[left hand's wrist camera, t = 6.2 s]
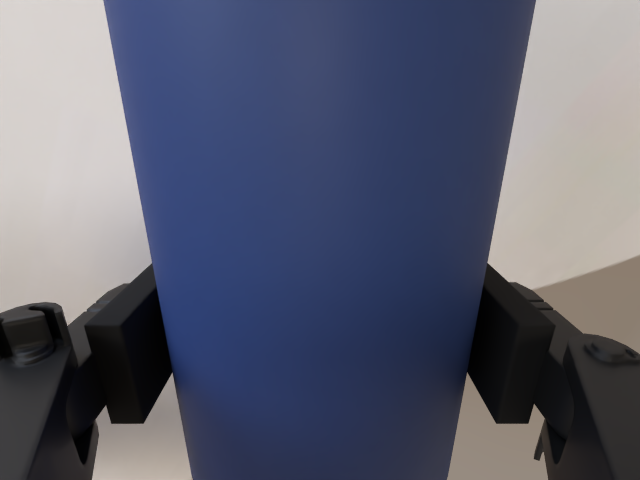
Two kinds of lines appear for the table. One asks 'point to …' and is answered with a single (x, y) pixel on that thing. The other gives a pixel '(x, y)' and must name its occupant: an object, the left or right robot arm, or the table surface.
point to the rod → (319, 219)
